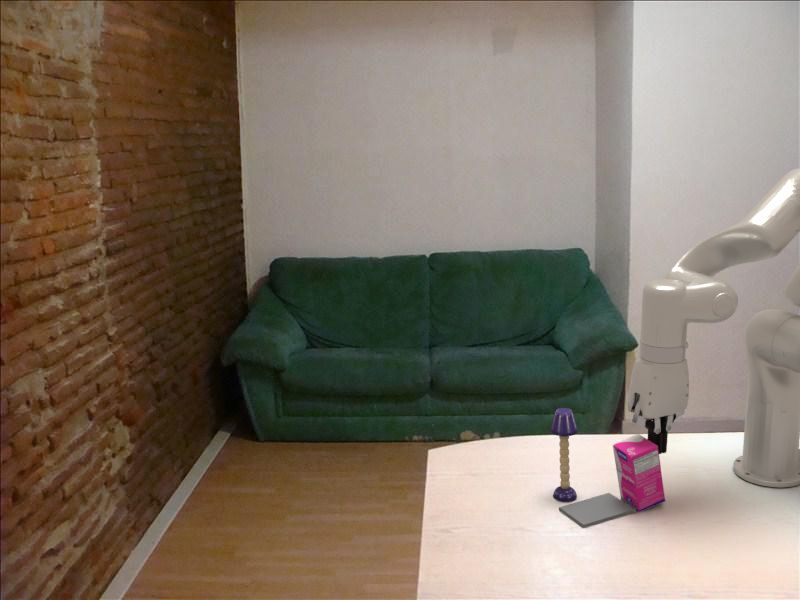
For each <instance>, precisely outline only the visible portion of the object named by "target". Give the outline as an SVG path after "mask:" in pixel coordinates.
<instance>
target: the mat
mask: <svg viewBox="0 0 800 600" xmlns="http://www.w3.org/2000/svg"><path fill="white" fill-rule="evenodd" d="M558 511H559V512H561V513H562V514H563V515H565V516H566V517H568V518H569V519H571V520H572V521H573V522H574V523H576V524H577V525H579V526H580V527H582V528H583V529H585V528H589V527H592V526H595V525H598V524H601V523H604V522H608V521H611V520H614V519H618V518H620V517H624V516H627V515H630V514H634V513H636V509H635V508H634V507H632V506H631V505H630V504H628V503H627V502H626V501H624V500H622V499H621V498H620V499H619V498H618V497H617V496H615V495H614V494H612V493H610V492H607V493H603V494H600V495H597V496H594V497H589V498H586V499H583V500H579V501H576V502H572V503H568V504H565V505H561V506H559V507H558Z"/></svg>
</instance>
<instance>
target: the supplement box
mask: <svg viewBox="0 0 800 600" xmlns="http://www.w3.org/2000/svg"><path fill="white" fill-rule="evenodd" d="M612 448H613V455H614V462H615V464H614V465H615V469H616V476H617V482H618V483H617V484H618V489H619V493H620V500H622V501H623V502H625V503H626V504H628V505H629V506H631V507H632V508H634V509H635V511H637V512H638V513H642V512H643V511H646V510H648V509H650V508H652V507H655V506H657V505H660V504H662V503H664V502H666V496H665V489H664V482H663V474H662V467H661V461H660V460H661V459H660V454H659V452H658V446H657V445H656V444H654V443H652V442H651V441H649V440H648V438H646V437H644V436H643V435H641V434H640V433H636V434H633V435H632V436H629V437H628V438H624V439H623V440H620V441H617V442H616V443H613V444H612Z"/></svg>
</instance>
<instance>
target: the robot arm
mask: <svg viewBox="0 0 800 600" xmlns="http://www.w3.org/2000/svg"><path fill="white" fill-rule="evenodd" d="M798 234H800V167H798V168H794V169H791V170H790V171H788V172H786V173H785V174H784V175H783V176H782V177H781V178H780V179H779V180H778V181H777V182H776V183H775V184H774V185H773V187H772V188H770V190H769V191H768V192H767V193H766V194H765V195H764V196H763V197H762V198H761V199H760V200H759V201H758V202H757V203H756V205H754V207H753V208H751V210H749V212H748V213H747V214H746V215H745V216H744V217H743V218H742V219H740V221H739V222H738V223H736V224H734V225H732V226H730V227H727V228H725V229H723V230H722V231H719V232H717V233H714V234H713V235H711V236H709V237H707V238H704V239H703V240H702V241H700V242H698V243H697V244H695V245H693V246H692V247H691V248H690V249H688V251H686V252H685V253H684V254H683V255H682V256H681V257H680V258H679V259H678V261H677V262H676V263H674V265H673V266H672V267H671V268H670V269H669V270H668V272H667V273H666V274H665V276H664V277H663V279H662V278H660V279H653V280H649V281H648V282H646V283H645V284H644V286H643V288H642V297H641V298H642V299H641V301H642V302H641V320H640V323H641V324H640V341H639V357H638V358H636V359H635V361H634V364H633V367H632V371H631V376H630V383H629V388H628V389H629V390H628V397H627V398H628V399H627V410H628V411H629V412H630V413H633V416H632V420H631V423H633V424H635V425H636V426H639V427H640V426H643V427H644V428H645V429H647V439H648V440H649V441H651V442H652V443H654V444H656V445H657V446H658V452H659V455H662V454H666V453H667V451H668V450H667V449H668V434H669V433H668V432H669V431H671V429H672V426H673V424H674V422H675V421H676V419H678V418H680V417H682V416H684V414H685V412H686V411H685V410H686V409H687V407H688V405H689V398H690V397H689V396H690V395H689V393H690V375H689V374H690V373H689V367H688V365H689V364H688V359H687V358H686V349H688V348H689V343H688V341H687V338H688V337H687V335H688V324H692V323H694V324H695V323H697V324H717V323H721V322H724V321H726V320H728V319H730V318H731V317H732V316H733V315H734V314H735V312H736V310H737V308H738V306H739V297H738V293H737V292H736V290H735V288H733V286H731V285H730V284H729V283H727V282H725V281H723V280H720V279H719V278H718V279H717V278H715V277H714V276H716V275H717V274H718V273H720V272H723V271H725V270H726V269H729V268H731V267H735V266H738V265H742V264H748V263H755V262H761V261H765V260H768V259H772V258H775V257H777V256H778V255H780V254H781V252H782V251H783V250H784V249H785V248H786V247H787V246H788V245H789V244H790V243H791V241H793V240H794V239H795V237H797V235H798ZM784 297H785V299H786V301H787V303H788V304H789V305H790V306H791V307H793V308H795V309H796V310H799V311H800V263H799V264H798V265H797V267H796V268H795V270H794V271H793V273H792V274H791V276H790V278H788V281H787V283H786V285H785V290H784ZM745 329H746V330H745V335H744V336H745V337H744V338H745V339H744V342H745V343H744V344H745V349H746V356H747V365H748V366H747V369H748V371H747V372H748V373H747V377H748V378H747V391H746V392H747V393H746V405H745V416H744V417H745V419H744V433H743V445H742V455H740V456H738V457H736V458H735V459H734V461H733V463H732V464H733V465H732V466H733V467H732V469H733V472H734V473H735V474H736V475H737V476H738V477H740V478H741V479H742V480H745V481H747V482H749V483H752V484H755V485H758V486H762V487H769V488H770V487H771V488H791V487H795V486H798V485H800V314H796V313H793V312H790V311H787V310H783V309H777V308H776V309H775V308H768V309H763V310H761V311H759V312H757V313H755V314H754V315H753V316H752V317H751V319H749V322H748V324H747V325H746V328H745Z"/></svg>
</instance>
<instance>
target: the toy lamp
mask: <svg viewBox="0 0 800 600" xmlns="http://www.w3.org/2000/svg"><path fill="white" fill-rule="evenodd" d="M550 432H551V433H552V434H553V435H554V436H558V438H559V455H560V456H559V464H560V465H559V471H560V473H559V477H560V482H559V483H560V484H559V485H560V486H559V485H558V486H557V487H556V488H555V489H554V491H553V494H552V496H553V499H554V500H556V501H558V502H561V503H571V502H574V501H576V500H577V497H578V496H577V492H576V490H575V489H574V488H573V487H572V486H571V483H570V478H571V474H570V471H571V470H570V457H569V455H570V449H569V447H570V442H569V439H570V437H571V436H574V435H576V434H577V433H578V425H577V423H576V419H575V416H574V413H573V410H572V409H570V408H566V407H560V408H557V409H555V412H554V416H553V419H552V422H551V428H550Z"/></svg>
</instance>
